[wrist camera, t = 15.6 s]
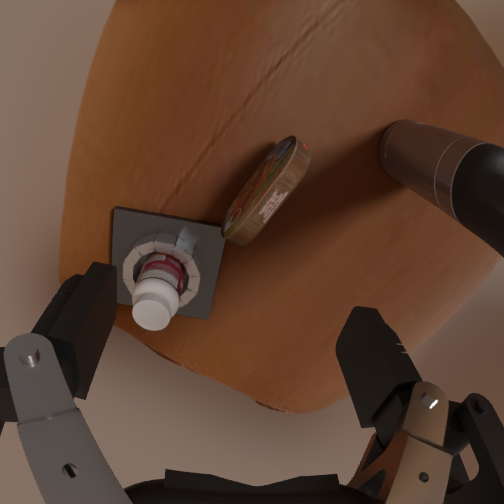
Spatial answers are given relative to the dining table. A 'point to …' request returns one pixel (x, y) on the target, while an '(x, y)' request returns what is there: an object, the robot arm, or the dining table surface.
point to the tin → (266, 191)
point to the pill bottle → (158, 291)
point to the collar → (170, 242)
